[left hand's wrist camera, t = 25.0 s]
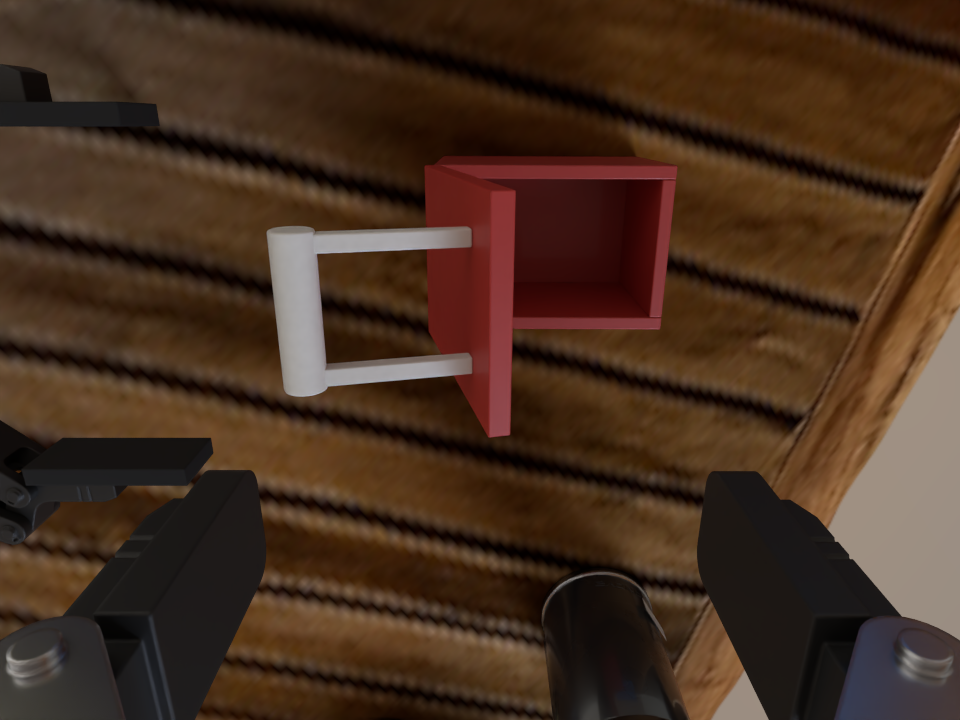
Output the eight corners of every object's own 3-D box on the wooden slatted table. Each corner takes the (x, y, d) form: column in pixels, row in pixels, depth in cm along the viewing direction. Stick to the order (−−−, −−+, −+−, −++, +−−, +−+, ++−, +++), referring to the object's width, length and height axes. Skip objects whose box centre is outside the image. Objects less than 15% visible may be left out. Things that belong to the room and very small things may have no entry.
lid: (516, 189, 21) (254, 195, 19) (510, 435, 24) (285, 460, 22) (441, 164, 33) (276, 166, 31) (443, 330, 36) (294, 341, 34)
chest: (637, 156, 42) (678, 165, 34) (625, 289, 45) (660, 329, 37) (443, 155, 42) (433, 164, 34) (445, 289, 45) (436, 328, 37)
